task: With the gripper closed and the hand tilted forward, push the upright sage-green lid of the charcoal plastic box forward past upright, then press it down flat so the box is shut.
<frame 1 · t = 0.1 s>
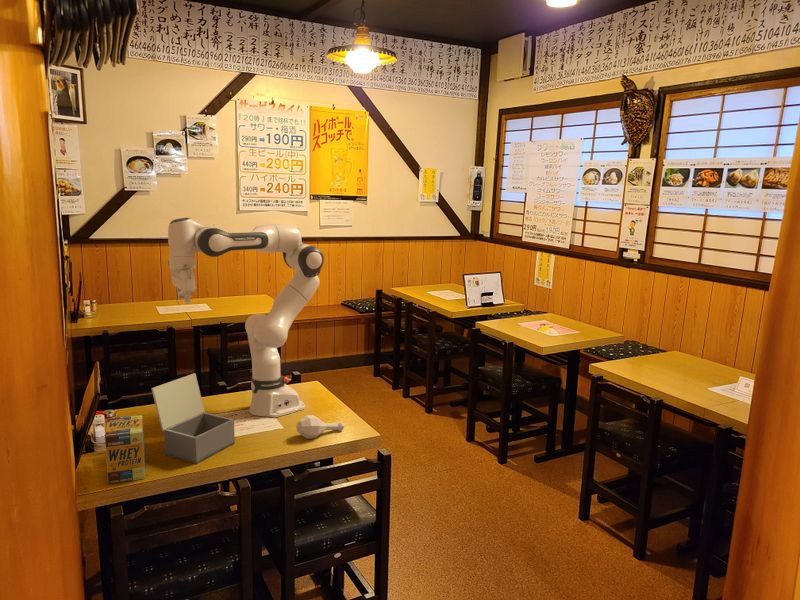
hand: (184, 301, 213), 48 cm above the table, tool pointing down, fingers open, 8 cm apart
protein box: (127, 471, 185), on the table
chicken leg: (321, 435, 216), on the table
candy bar box: (175, 428, 218), on the table
lid: (179, 400, 202), point 16 cm above the table, hinge at 105.0°
storage box: (201, 449, 201), on the table
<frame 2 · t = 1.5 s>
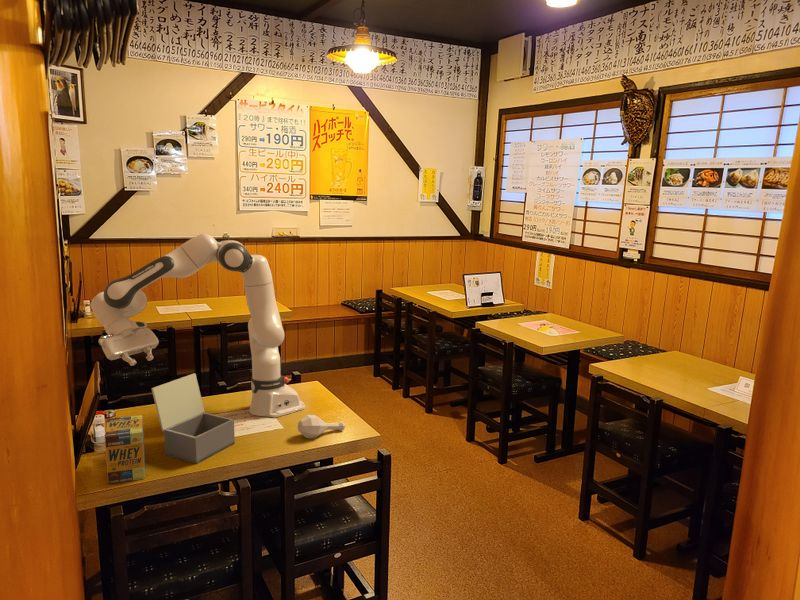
hand: (142, 361, 207), 27 cm above the table, tool tilted 45°, fingers open, 6 cm apart
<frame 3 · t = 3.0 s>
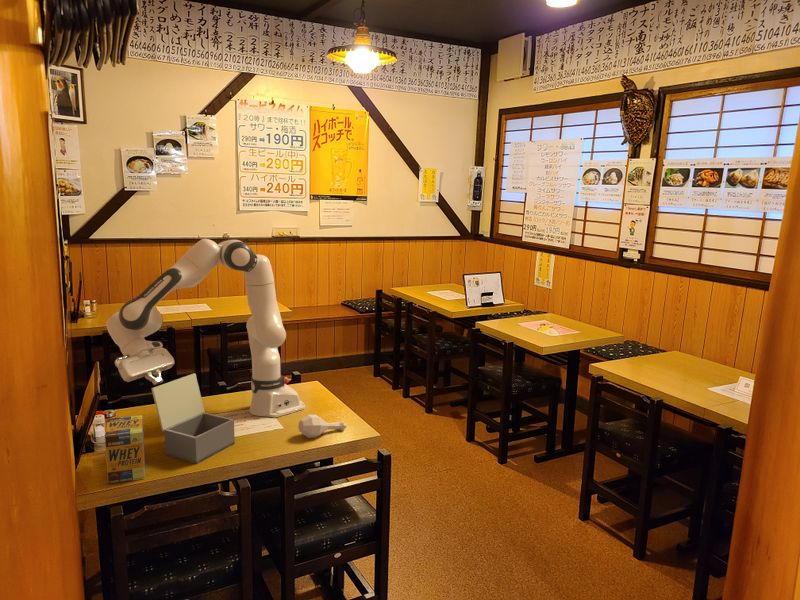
hand: (159, 383, 206), 21 cm above the table, tool tilted 45°, fingers closed
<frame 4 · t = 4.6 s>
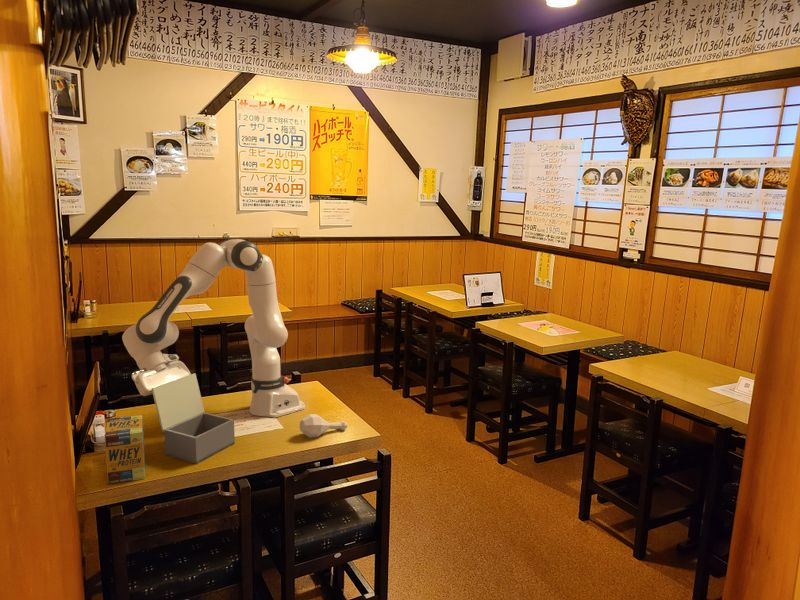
hand: (175, 396, 203), 17 cm above the table, tool tilted 45°, fingers closed, pressing on lid
lid: (179, 400, 202), point 16 cm above the table, hinge at 104.9°, touching gripper
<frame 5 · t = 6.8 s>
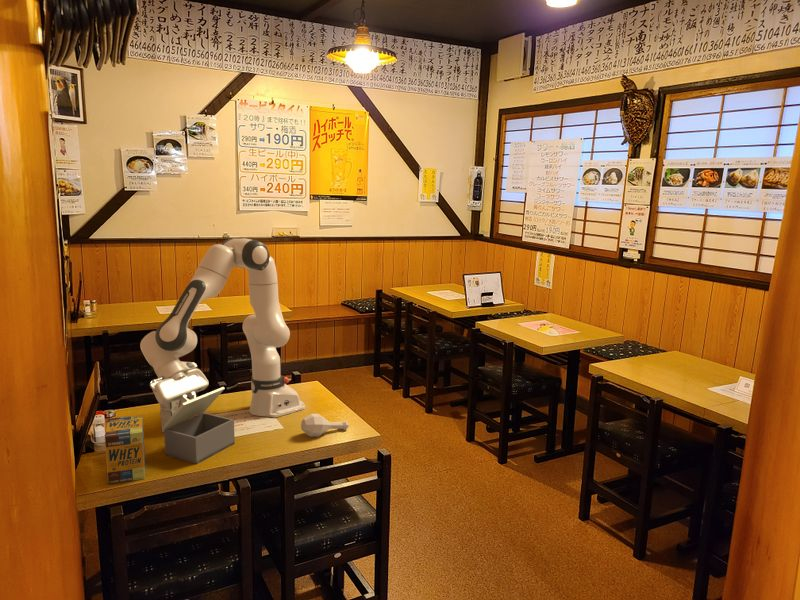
hand: (194, 405, 199), 15 cm above the table, tool tilted 45°, fingers closed, pressing on lid
lid: (194, 407, 200), point 15 cm above the table, hinge at 46.6°, touching gripper
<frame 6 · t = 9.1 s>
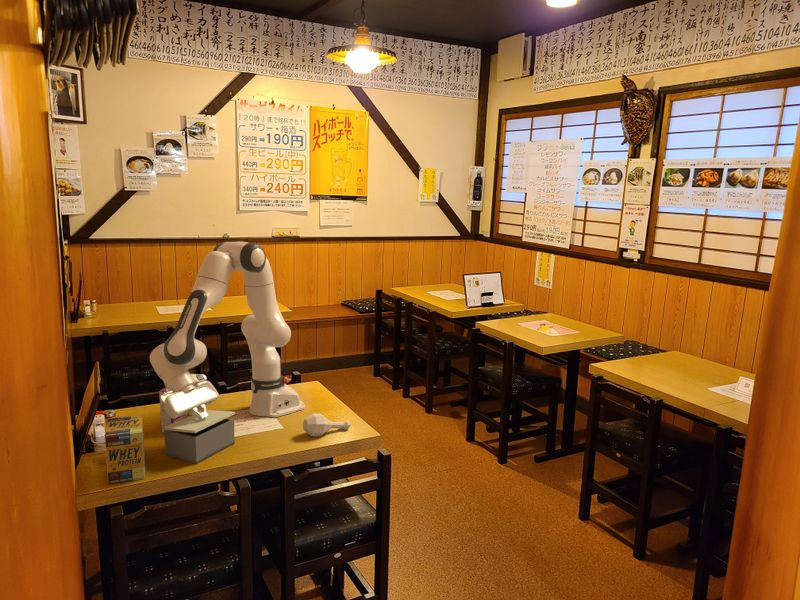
hand: (204, 418, 198), 12 cm above the table, tool tilted 45°, fingers closed, pressing on lid
lid: (199, 420, 199), point 10 cm above the table, hinge at 7.4°, touching gripper
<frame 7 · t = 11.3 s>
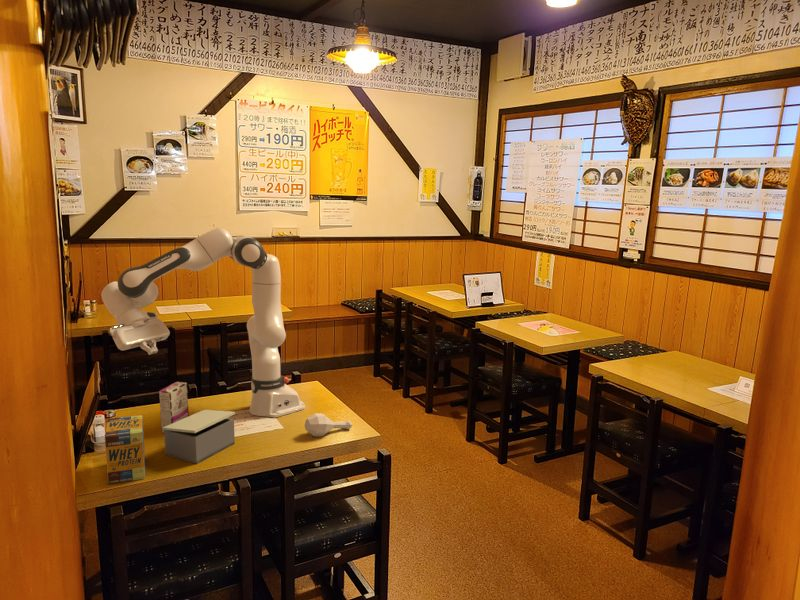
hand: (153, 352, 204), 32 cm above the table, tool tilted 45°, fingers closed
lid: (199, 420, 199), point 10 cm above the table, hinge at 7.4°
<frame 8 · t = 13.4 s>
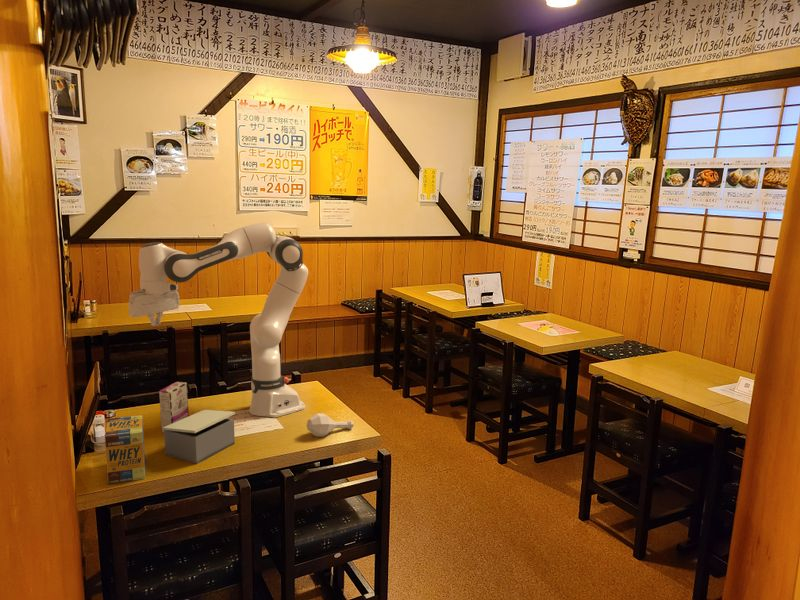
hand: (155, 324, 213), 39 cm above the table, tool pointing down, fingers closed
at the end: lid at +7° (first picture: +105°); protein box moved 0.3 cm from its start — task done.
